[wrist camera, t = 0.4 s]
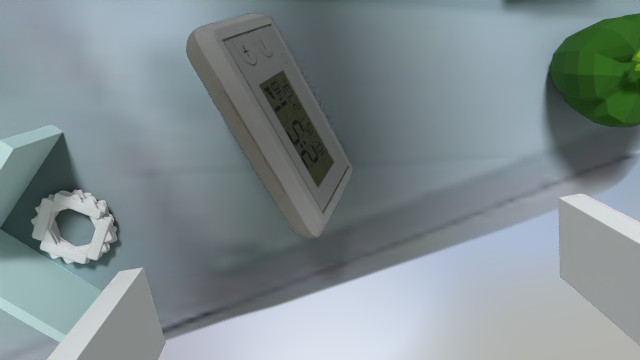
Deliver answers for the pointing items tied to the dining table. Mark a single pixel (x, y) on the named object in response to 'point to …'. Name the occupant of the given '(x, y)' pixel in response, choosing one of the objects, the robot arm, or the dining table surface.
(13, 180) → the l-shaped corner panel
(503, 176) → the dining table surface
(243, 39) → the digital clock
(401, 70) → the dining table surface
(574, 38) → the bell pepper
